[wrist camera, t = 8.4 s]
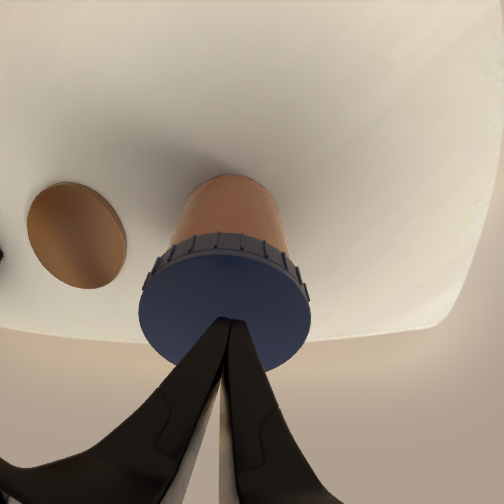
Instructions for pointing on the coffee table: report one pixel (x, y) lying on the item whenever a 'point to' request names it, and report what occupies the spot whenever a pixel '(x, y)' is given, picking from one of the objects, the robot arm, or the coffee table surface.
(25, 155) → the coffee table surface
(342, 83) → the coffee table surface
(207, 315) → the jar lid
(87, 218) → the coaster
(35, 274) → the coffee table surface
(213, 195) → the jar
